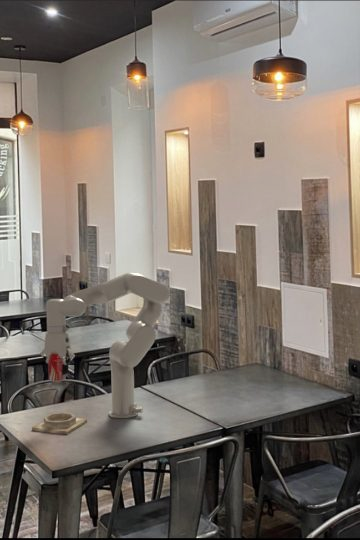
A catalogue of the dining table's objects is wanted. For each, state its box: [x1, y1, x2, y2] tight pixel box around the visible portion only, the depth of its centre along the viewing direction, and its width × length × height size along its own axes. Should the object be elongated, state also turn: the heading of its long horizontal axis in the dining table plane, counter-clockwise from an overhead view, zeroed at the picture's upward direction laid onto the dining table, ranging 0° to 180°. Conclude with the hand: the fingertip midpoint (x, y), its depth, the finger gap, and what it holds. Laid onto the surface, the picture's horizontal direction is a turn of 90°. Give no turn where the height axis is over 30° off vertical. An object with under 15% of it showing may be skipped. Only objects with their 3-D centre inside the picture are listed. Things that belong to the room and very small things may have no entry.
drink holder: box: [31, 412, 88, 435], centre depth 266 cm, size 16×16×4 cm
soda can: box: [48, 352, 67, 383], centre depth 267 cm, size 7×7×12 cm
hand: (58, 372), depth 267 cm, fingers closed on soda can, 6 cm apart
